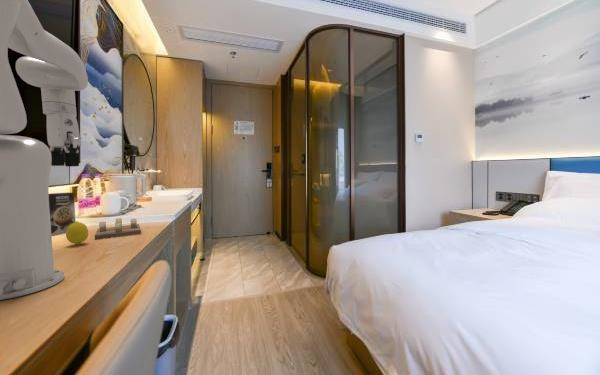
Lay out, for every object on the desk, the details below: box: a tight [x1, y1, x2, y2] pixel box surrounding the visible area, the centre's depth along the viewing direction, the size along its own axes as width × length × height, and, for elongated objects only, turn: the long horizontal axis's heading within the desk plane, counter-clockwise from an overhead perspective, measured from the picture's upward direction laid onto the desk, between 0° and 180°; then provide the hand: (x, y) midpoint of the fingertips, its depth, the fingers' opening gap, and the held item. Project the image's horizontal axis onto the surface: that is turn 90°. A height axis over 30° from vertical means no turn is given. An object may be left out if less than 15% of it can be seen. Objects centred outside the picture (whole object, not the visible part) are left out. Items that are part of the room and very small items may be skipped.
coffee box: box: [48, 192, 77, 237], centre depth 101 cm, size 9×6×16 cm
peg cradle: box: [94, 218, 142, 241], centre depth 100 cm, size 14×14×5 cm
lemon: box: [65, 220, 89, 246], centre depth 84 cm, size 6×6×8 cm
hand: (64, 165), depth 80 cm, fingers open, 9 cm apart
